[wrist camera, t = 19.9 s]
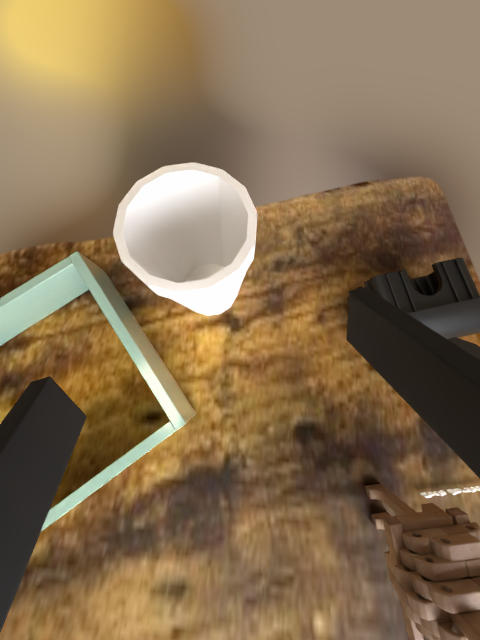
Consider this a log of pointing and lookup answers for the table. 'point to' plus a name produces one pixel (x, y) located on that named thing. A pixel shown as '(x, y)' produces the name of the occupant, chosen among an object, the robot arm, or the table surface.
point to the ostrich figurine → (433, 566)
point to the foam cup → (188, 235)
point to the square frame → (82, 275)
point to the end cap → (434, 297)
